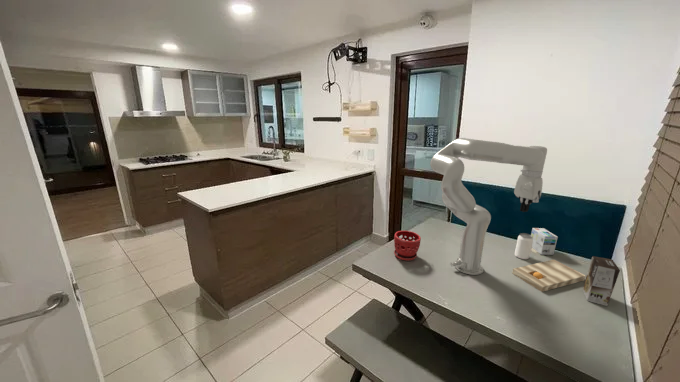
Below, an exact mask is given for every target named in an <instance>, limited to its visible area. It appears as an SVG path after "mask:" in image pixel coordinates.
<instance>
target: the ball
mask: <svg viewBox="0 0 680 382" xmlns="http://www.w3.org/2000/svg"><path fill="white" fill-rule="evenodd" d="M533 276H534V277H536V278H537V279H542V278H543V275H542V274H541V273H539V272H535V273H534V274H533Z"/></svg>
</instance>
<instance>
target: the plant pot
mask: <svg viewBox="0 0 680 382" xmlns="http://www.w3.org/2000/svg"><path fill="white" fill-rule="evenodd" d="M400 236H401V238H400ZM421 240H422V238H421V236H420V235H419V234H418V233H417V232H414V231H410V230H398V231H396V232H395V233H394V236H393V242H394V243H393V245H394V251H393V254H394V256H395V257H396V258H398V259H399V260H401V261H402V260H403V261H408V262H409V261H413V260H415V259H416V258H417V255H418V251H419V249H420V246H421Z"/></svg>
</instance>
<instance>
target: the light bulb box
mask: <svg viewBox="0 0 680 382" xmlns="http://www.w3.org/2000/svg"><path fill="white" fill-rule="evenodd" d="M530 235H531V236H533V244H532V248H531V249H534V250H535V251H536V252H537V253H538V254H539V255H544V256H545V255H547V256H548V255H549V256H550V255H551V256H553V255H554V254H555V249H556V245H557V241H558V238H559V237H558V236H557V235H556V234H554V233H552V232H550V231H549V230H548V229H546V228H544V227H542V228H541V227H540V228H539V227H532V229H531V233H530Z"/></svg>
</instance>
